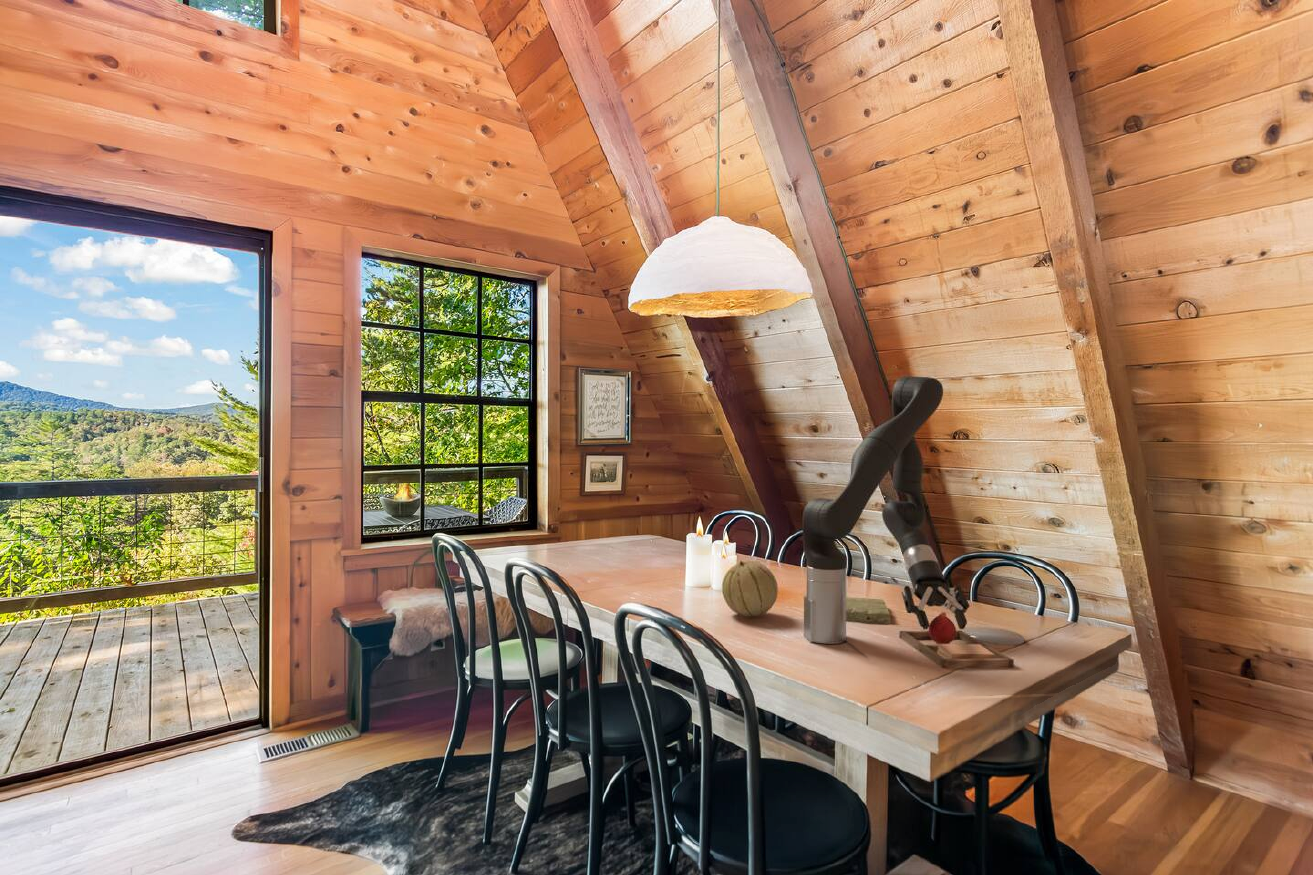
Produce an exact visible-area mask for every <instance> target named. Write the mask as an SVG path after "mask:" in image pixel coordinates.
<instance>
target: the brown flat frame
mask: <svg viewBox="0 0 1313 875" xmlns="http://www.w3.org/2000/svg"><path fill="white" fill-rule="evenodd" d="M899 639H901V640H902V641H904V642H905V643H906V644H907V645H909V646H910V647H912V648H914V649H915V650H916V651H918V652H919V653H921V654H922V655H923V656H925V657H926V658H928V659H929V660H931V661H932V662H933V663H935V664H936V665H938V666H939V667H940V668H942V669H993V668H994V669H1000V668H1001V669H1003V668H1004V669H1006V668H1009V669H1011V668H1012V669H1013V668H1014V659H1012V658H1011V657H1010V656H1007V655H1005V654H1004V653H1002V652H1000V651H999V650H996V649H995V648H993V647H991V646H989V645H988V644H987V643H984V642H981V641H979V640H977V639H975V638H973V637H972V636H970V635H968V634H966V633H964V630H956V637H955V638H954V640H956V639H959V640H961V641H962V642H964V643H965V644H980V645H981V646H983V647H984V648H986V649H987V650H989V651H990V652H992V653H993V654H995V659H945V658H943V657H942V656H940V655H939V654H937V650H939V649H938V644H923V642H921V641H919V640H924V639H925V640H933V639H932V638H931V637H930V635H929V630H900V631H899Z"/></svg>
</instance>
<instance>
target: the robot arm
mask: <svg viewBox="0 0 1313 875" xmlns="http://www.w3.org/2000/svg"><path fill="white" fill-rule="evenodd" d="M891 394H892V395H891V407H892V418H891V419H890V420H888V421H886V422H884V423H883V424H880V425H879V426H877V427H876V428H874V429H872V430H871V431H870V432H869V433H868V434H867V435H866V436H865V437H864V438H863V440H862V441H861V442H860V444H859V445H858V447H857V448H856V449H855V451H854V453H853V455H852V457H851V463H850V464H851V465H850V475H849V476H850V477H849V480H848V482H847V484H846V485H845V487H844V488H843V490H842V491H841V492H840V494H838V496H837V497H836V498H834V499H833V498H823V497H817V498H812V499H811V500H809V501H808V502H807V504H805V507H804V509H803V513H802V514H803V515H802V543H803V544H802V546H803V553H804V555H805V558H806V595H804V596H803V636H804V637H805V638H806V639H807V640H808V641H809V643H810V642H811V643H819V644H825V645H826V644H827V645H828V644H829V645H836V644H841V643H845V642H846V641H847V621H846V597H847V584H848V583H847V582H848V581H847V577H848V576H847V574H848V572H847V569H848V568H847V565H848V564H847V563H848V561H847V560H848V559H847V556H846V555H845V553H843V552H842V551H841V550H840V549H839V547H837V545H836V542H835V540H842V539H845V538H846V537H847V536H848V535H850V533H851V532H852V531H853V529H854V527H855V526H856V524H858V523H857V522H858V521H859V519H860V517H861V515H862V514H863V512H864V510H865V508H866V506H867V504H868V502H869V501H870V499H871V497H872V496H873V494H874V493H875V491H876V490H877V489H878V487H879V485H880V483H881V482H882V481H883V479H884V478H885V476H886V475H887V474H888V473H889V471H890V470H891V469H892V467H893V474H892V483H891V484H892V489H893V490H894V491H895V492H898V493H900V494H901V493H902V494H905V495H906V496H907V500H908V501H900V500H899V501H897V500H896V501H895V500H892V501H888V502H886V503H885V504H884V505H883V509H882V510H881V511H882V512H881V517H882V521H883V523H884V525H885V527H886V528H887V530H888V531H889V532H890V535H892V537H893V538H894V539H895V540H896V542H897V543H898V545H899V547H900V551H901V554H902V556H903V560H904V565H905V569H906V571H907V574H908V577H909V580H910V583H911V585H912V587H910V586H909V585H905V586H904V587H903V589H902V592H901V595H902V598H903V599H902V600H903V602H904V607H905V610H906V612H907V613H908V614H911V613H912V614H915V616H916V618H917V620H918V623H919V626H920V627H921V628H922V629H923V630H929V625H930V621H929V619H928V616H927V614H926V611H925V610H924V608H925V606H928V607H935V606H936V607H943V608H944V609H946V610H949V611H950V612H951V613H953V614H954V618H955V622H956V624H957V626H958V628H959V630H965V629H966V627H967V626H966V625H967V624H968V620H967V619H966V615H965V614H966V613H967V610H968V609H969V608H970V604H969V601H968V599H967V597H966V595H965V593H964V590H963V588H962V587H961V586H960V585H956V586H955V587H949V586H948V585H947V584H946V581H945V577H944V574H943V571H942V569H941V566H940V563H939V561H938V559H937V557H936V554H935V552H934V550H933V548H932V546H931V543H930V541H929V539H928V536H927V534H926V532H925V531H924V530H922V529H921V527H923V525H924V524H925V521H926V509H925V508H926V507H925V505H924V504H925V503H924V500H923V499H924V498H923V492H922V478H923V469H924V468H923V467H924V461H923V455H922V452H921V449H920V447H919V445H918V442H917V440H916V437H915V435H916V434H917V433H918V431H919V430H920V429H921V428H922V426H923V425H924V424H926V422H927V421H928V420H929V419H930V418H931V417H932V415H933V414H934V413H935V411H937V410H938V407H939V406H940V404H941V403H942V399H943V396H944V387H943V385H942V382H941V381H939V380H938V379H937V378H933V377H927V376H911V375H910V376H909V375H908V376H902V377H899V378H898V379H897V380H896V382H895V383H894V385H893V387H892V393H891ZM913 596H915V597H916V598H917V599H919V600H920V601H919V603H918V604H917V605H915V602H914V598H913ZM947 601H948V602H947Z"/></svg>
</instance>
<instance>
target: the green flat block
mask: <svg viewBox="0 0 1313 875" xmlns="http://www.w3.org/2000/svg"><path fill="white" fill-rule="evenodd" d="M888 609H889V608H888V606H887V604H886V603H885V601H884V599H881V598H868V597H867V598H865V597H852V596H849V597H847V596H846V622H847V621H848V622H853V623H854V622H855V623H867V624H869V623H871V624H886V625H887V624H888V625H891V624H892V623H891V621H892V620H891V615H890V612H889V610H888Z"/></svg>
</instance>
